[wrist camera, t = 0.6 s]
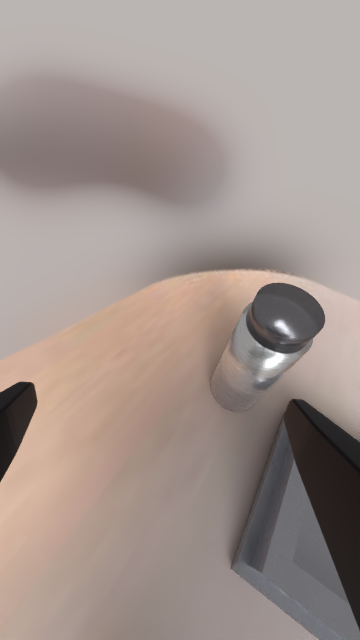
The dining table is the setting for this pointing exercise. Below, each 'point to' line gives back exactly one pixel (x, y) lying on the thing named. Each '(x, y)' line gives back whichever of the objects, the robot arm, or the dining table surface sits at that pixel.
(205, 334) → the dining table surface
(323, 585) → the grey tray with handle
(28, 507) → the dining table surface
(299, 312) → the steel vacuum flask
